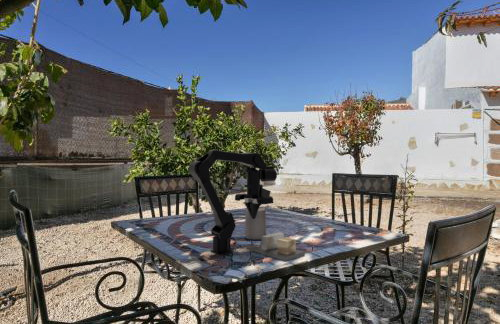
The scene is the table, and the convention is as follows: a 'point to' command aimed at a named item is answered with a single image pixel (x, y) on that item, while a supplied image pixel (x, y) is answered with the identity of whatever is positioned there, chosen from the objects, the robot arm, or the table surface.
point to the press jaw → (270, 240)
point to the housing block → (286, 245)
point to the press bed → (275, 253)
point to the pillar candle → (255, 224)
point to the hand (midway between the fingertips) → (253, 218)
